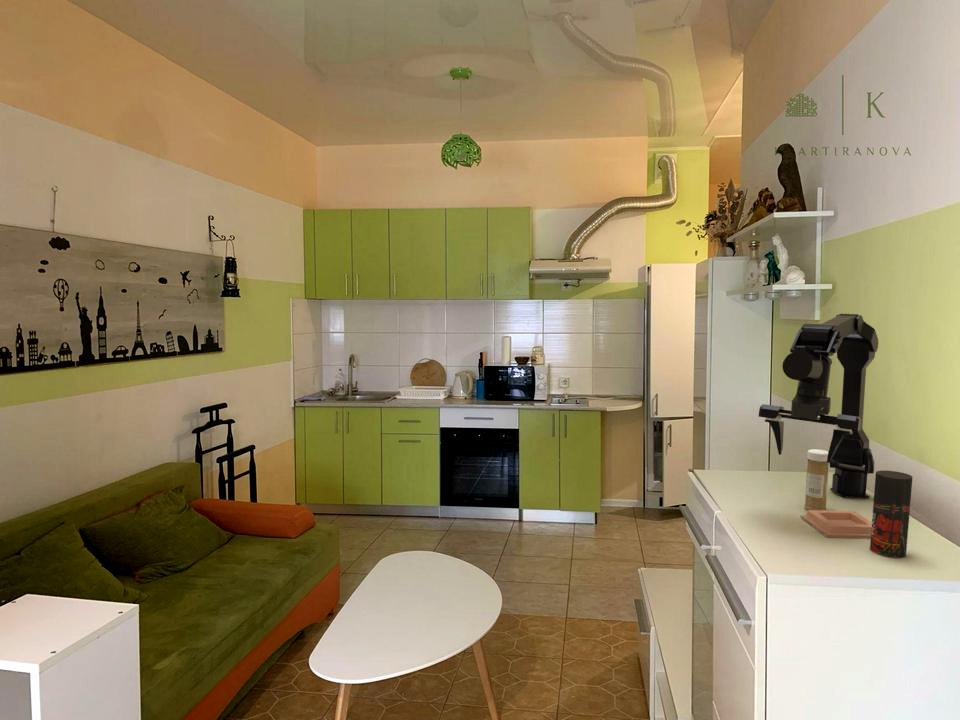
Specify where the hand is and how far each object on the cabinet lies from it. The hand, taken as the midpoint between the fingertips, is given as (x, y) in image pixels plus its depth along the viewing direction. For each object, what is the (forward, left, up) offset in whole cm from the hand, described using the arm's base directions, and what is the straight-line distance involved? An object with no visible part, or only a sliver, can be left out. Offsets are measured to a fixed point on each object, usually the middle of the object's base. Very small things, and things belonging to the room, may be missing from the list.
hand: (803, 458), depth 143 cm
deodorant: (-11, +14, -15) cm, 23 cm away
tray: (-9, +1, -14) cm, 17 cm away
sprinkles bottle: (-9, -11, -15) cm, 20 cm away
